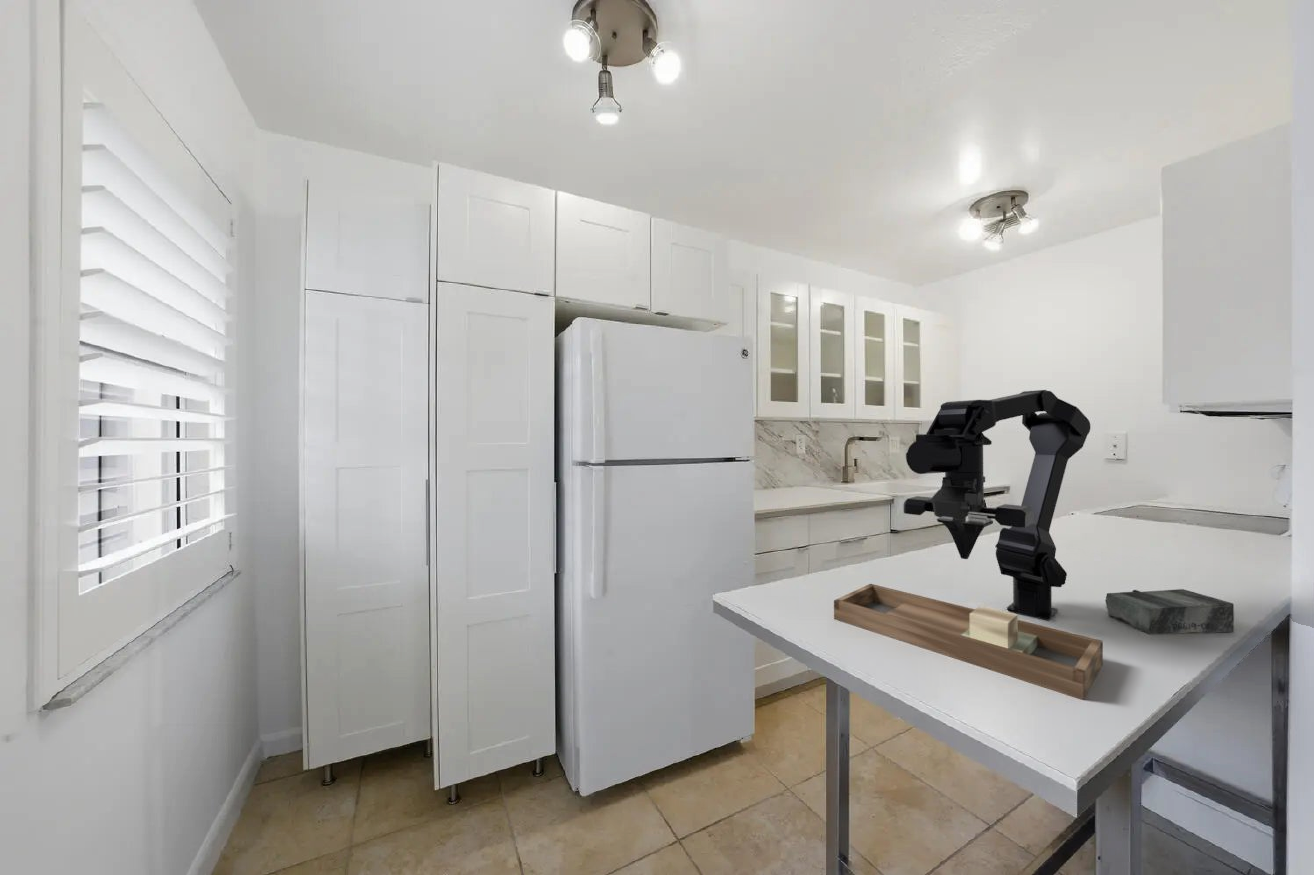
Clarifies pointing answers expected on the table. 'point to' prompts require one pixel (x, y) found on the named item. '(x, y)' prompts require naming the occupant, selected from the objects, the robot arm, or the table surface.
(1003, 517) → the robot arm
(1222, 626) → the stone block
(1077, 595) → the table surface
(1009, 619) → the beech block
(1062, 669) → the tray
